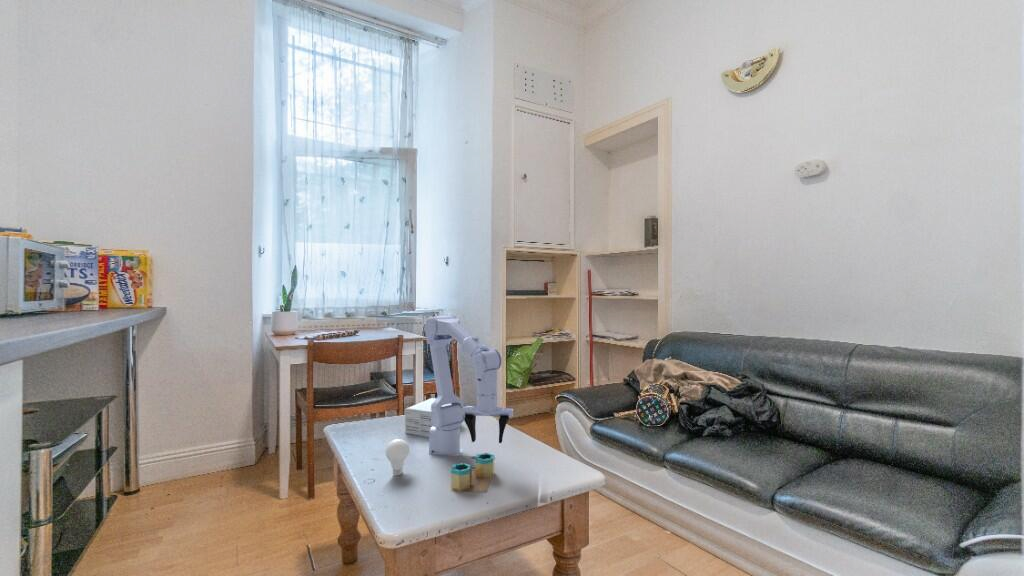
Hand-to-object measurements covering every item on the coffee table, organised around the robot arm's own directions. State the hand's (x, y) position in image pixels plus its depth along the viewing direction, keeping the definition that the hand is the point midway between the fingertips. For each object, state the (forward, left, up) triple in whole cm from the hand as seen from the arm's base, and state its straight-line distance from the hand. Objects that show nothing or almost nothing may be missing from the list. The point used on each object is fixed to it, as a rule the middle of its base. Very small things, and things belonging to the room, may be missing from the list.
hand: (487, 441), depth 123 cm
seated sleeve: (-5, -10, -8) cm, 14 cm away
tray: (-3, +5, -10) cm, 11 cm away
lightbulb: (-25, -4, -10) cm, 27 cm away
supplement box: (-27, +38, -10) cm, 48 cm away
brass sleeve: (0, -3, -8) cm, 9 cm away
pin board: (-3, -6, -10) cm, 12 cm away
